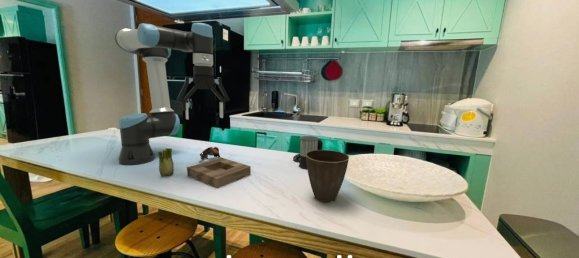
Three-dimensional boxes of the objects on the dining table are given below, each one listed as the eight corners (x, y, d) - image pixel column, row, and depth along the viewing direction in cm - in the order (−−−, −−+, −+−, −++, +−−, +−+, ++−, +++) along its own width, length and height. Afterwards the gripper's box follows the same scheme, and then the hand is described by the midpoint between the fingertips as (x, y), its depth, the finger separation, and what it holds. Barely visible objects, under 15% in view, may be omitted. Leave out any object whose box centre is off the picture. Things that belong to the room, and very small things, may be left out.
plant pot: (295, 198, 82) (297, 155, 79) (318, 185, 94) (320, 147, 91) (332, 213, 73) (335, 165, 70) (352, 197, 84) (356, 155, 81)
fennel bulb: (160, 179, 96) (158, 151, 93) (158, 175, 99) (156, 148, 97) (175, 176, 99) (173, 149, 97) (173, 172, 103) (171, 146, 101)
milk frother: (312, 171, 109) (314, 140, 107) (284, 164, 117) (284, 136, 114) (323, 163, 121) (325, 135, 119) (297, 157, 129) (298, 131, 126)
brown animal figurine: (219, 164, 116) (209, 152, 113) (204, 171, 118) (194, 158, 115) (226, 152, 126) (218, 140, 124) (213, 158, 129) (204, 146, 126)
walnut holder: (187, 175, 99) (186, 167, 99) (221, 165, 114) (221, 157, 113) (217, 188, 88) (216, 178, 87) (250, 174, 103) (250, 166, 102)
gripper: (168, 62, 82) (172, 121, 86) (236, 67, 95) (237, 118, 99) (167, 63, 89) (170, 118, 93) (231, 68, 101) (231, 116, 105)
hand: (204, 118), depth 96 cm, fingers open, 13 cm apart
